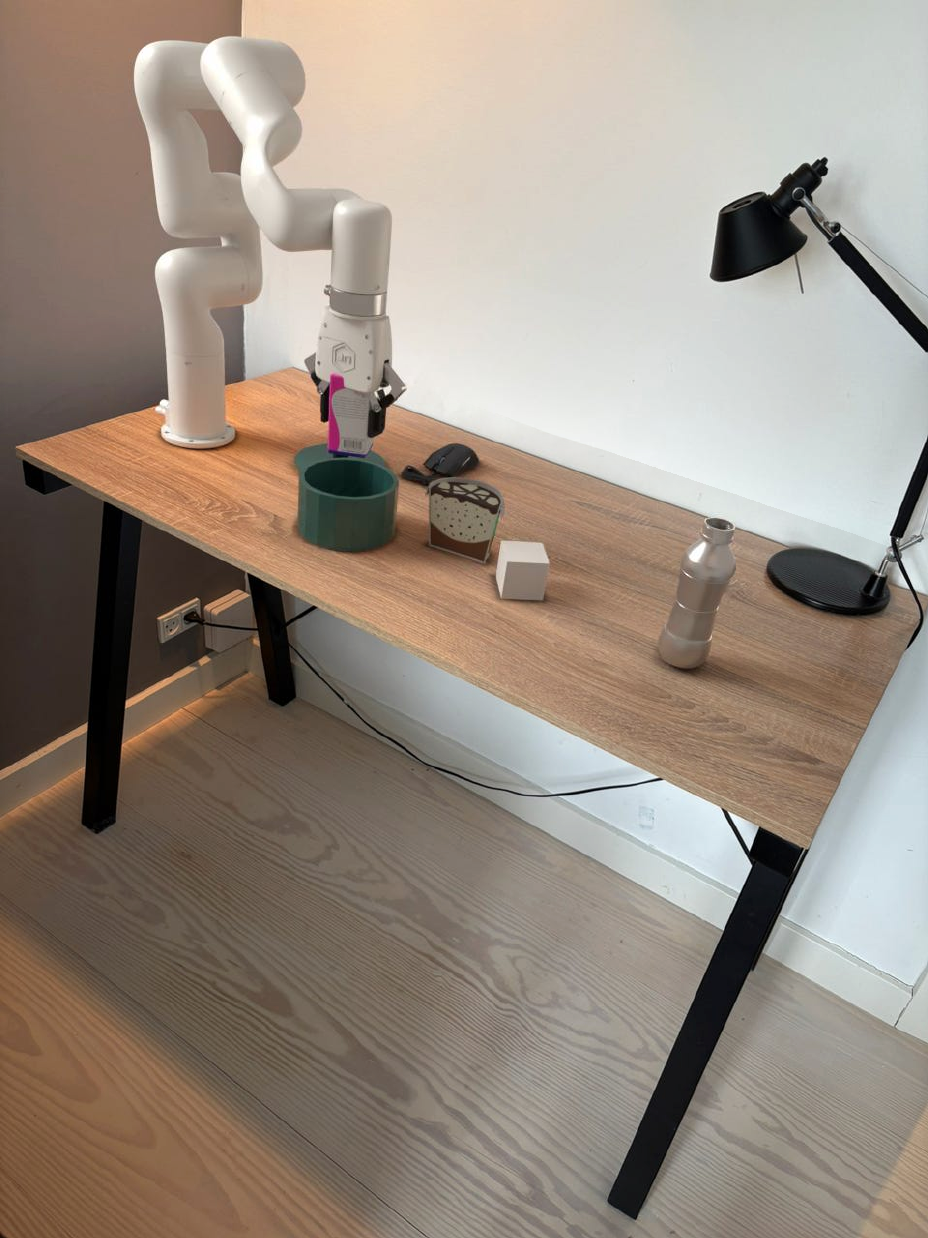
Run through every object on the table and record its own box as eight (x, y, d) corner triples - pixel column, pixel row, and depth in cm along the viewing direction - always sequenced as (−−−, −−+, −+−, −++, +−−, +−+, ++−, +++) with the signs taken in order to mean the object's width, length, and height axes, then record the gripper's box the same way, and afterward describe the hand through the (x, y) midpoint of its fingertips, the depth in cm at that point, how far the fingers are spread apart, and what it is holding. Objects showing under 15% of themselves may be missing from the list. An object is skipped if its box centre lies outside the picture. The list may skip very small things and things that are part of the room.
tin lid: (275, 468, 158) (275, 436, 155) (329, 442, 170) (330, 412, 167) (352, 495, 153) (353, 462, 150) (402, 466, 165) (404, 436, 162)
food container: (510, 550, 143) (519, 490, 138) (494, 566, 138) (503, 505, 133) (438, 527, 147) (444, 468, 141) (420, 542, 142) (426, 481, 136)
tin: (277, 530, 140) (278, 478, 135) (335, 498, 151) (337, 449, 147) (359, 561, 135) (362, 508, 130) (412, 526, 146) (417, 476, 142)
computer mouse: (512, 475, 167) (515, 454, 165) (451, 501, 155) (453, 479, 153) (458, 453, 173) (461, 432, 171) (396, 477, 161) (397, 455, 159)
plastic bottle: (648, 645, 125) (684, 510, 114) (697, 647, 126) (737, 513, 115) (661, 673, 119) (700, 534, 109) (711, 676, 120) (755, 538, 110)
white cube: (495, 577, 136) (500, 540, 132) (535, 579, 136) (542, 542, 133) (501, 598, 131) (507, 561, 127) (542, 600, 131) (549, 563, 128)
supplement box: (373, 444, 138) (379, 368, 132) (366, 459, 133) (371, 380, 127) (335, 438, 139) (338, 362, 132) (326, 453, 134) (329, 374, 127)
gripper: (288, 291, 125) (286, 418, 134) (398, 321, 119) (388, 451, 128) (321, 283, 131) (317, 405, 140) (428, 311, 125) (416, 436, 134)
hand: (351, 426), depth 134 cm, fingers closed on supplement box, 7 cm apart
